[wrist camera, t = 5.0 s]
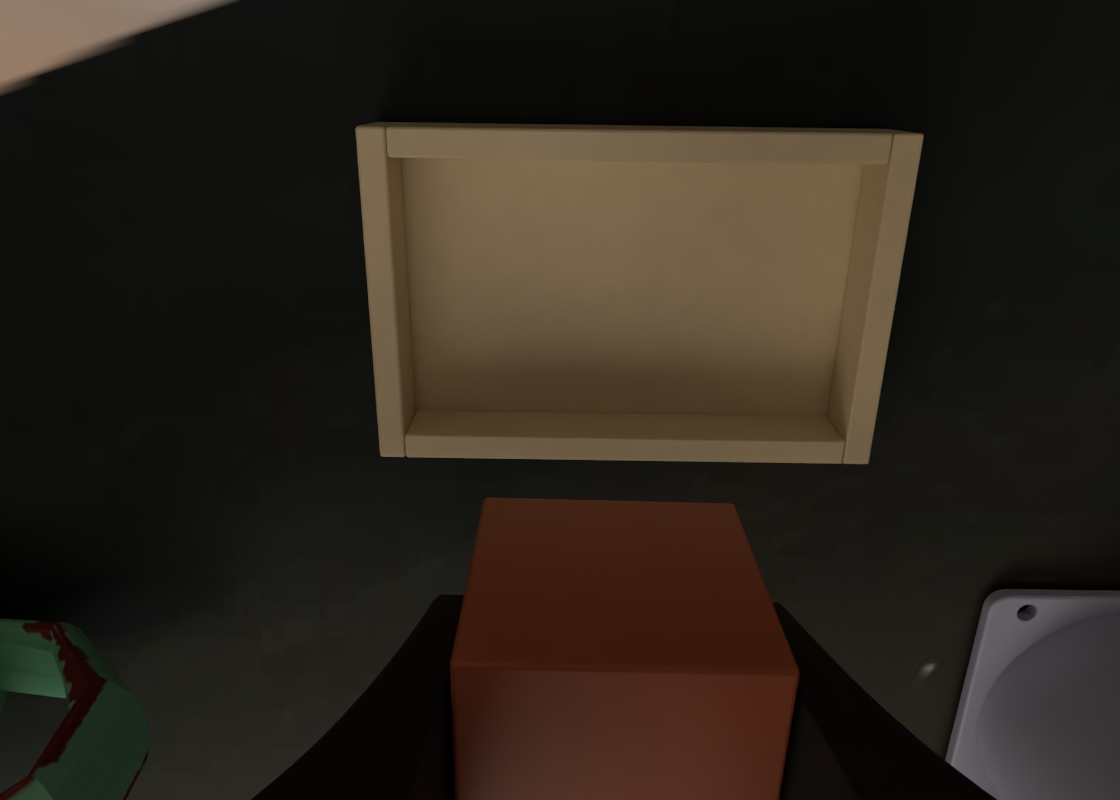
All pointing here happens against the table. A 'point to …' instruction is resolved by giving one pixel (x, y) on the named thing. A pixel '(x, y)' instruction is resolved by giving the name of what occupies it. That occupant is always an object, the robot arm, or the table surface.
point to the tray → (632, 288)
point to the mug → (74, 714)
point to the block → (618, 656)
